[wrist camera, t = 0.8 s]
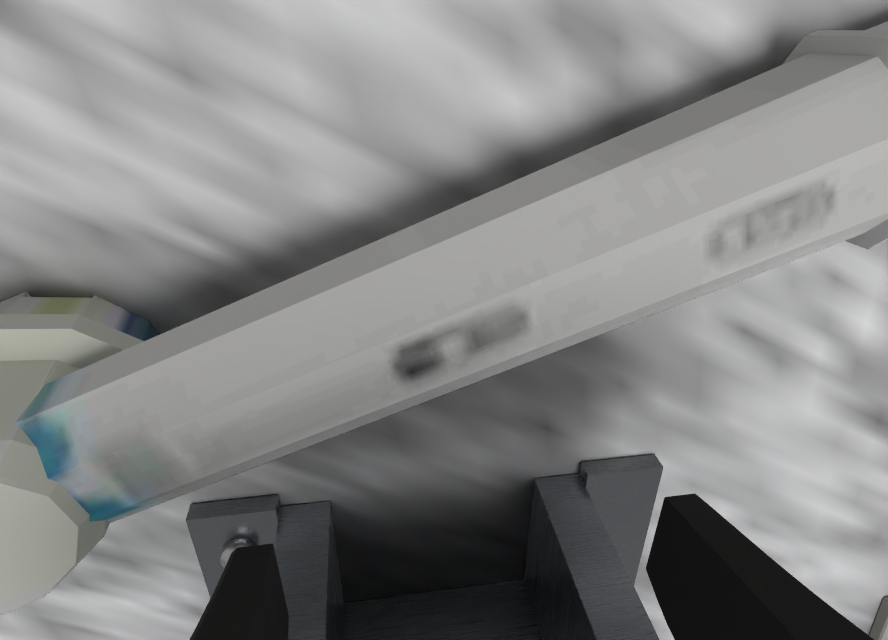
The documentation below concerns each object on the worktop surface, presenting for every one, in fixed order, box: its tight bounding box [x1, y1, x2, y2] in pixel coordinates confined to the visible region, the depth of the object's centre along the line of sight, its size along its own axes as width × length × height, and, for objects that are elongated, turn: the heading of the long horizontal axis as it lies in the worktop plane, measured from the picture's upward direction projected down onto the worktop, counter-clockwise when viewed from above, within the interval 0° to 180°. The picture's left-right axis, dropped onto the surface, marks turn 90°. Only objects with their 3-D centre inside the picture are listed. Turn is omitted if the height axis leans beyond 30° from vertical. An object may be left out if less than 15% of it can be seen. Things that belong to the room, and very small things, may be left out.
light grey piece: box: [0, 21, 888, 616], centre depth 12 cm, size 5×7×25 cm
